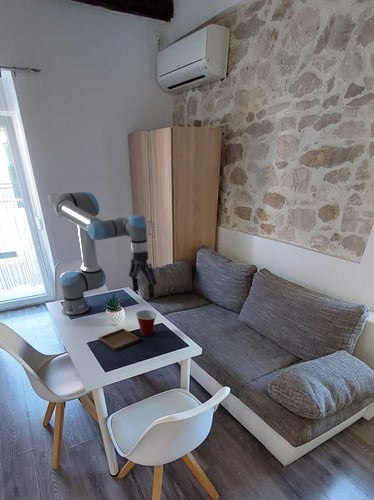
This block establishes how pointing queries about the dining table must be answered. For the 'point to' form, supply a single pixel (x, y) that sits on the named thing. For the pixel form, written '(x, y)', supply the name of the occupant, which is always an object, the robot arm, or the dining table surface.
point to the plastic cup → (146, 321)
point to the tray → (119, 339)
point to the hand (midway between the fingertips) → (143, 294)
